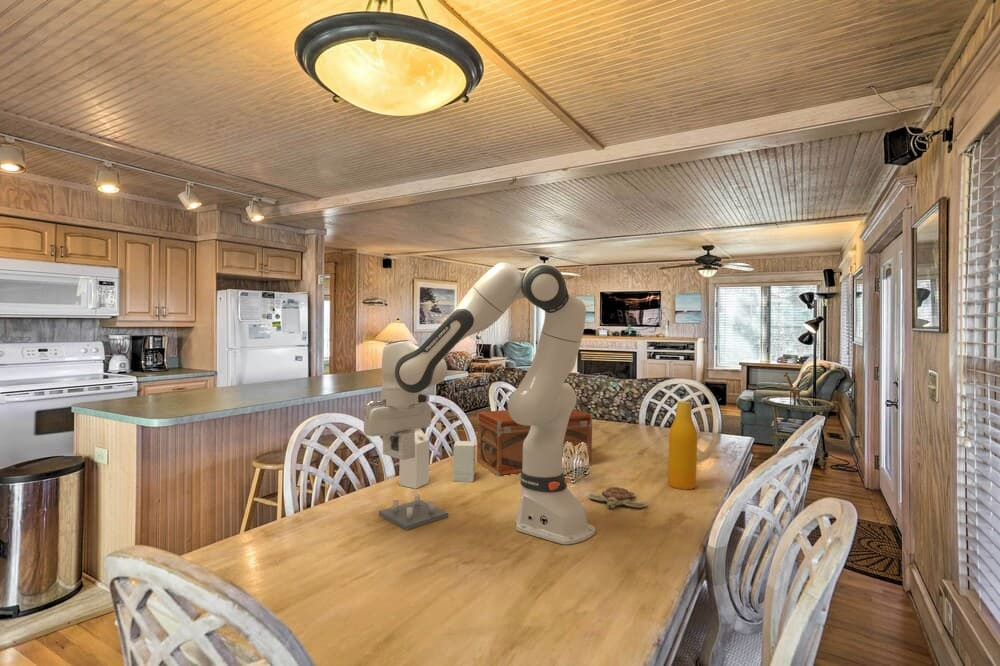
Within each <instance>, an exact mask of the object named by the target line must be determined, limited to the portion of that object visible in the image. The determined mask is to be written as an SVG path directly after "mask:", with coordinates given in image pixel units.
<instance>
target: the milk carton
mask: <svg viewBox="0 0 1000 666" xmlns="http://www.w3.org/2000/svg"><path fill="white" fill-rule="evenodd" d="M414 432H415V458H410V459H406V460H401V459H399V469H398V471H399V476H398V479H399V481H398V483H399V486H402V487H405V488H410V489H411V488H412V489H418V488H420V487H423V486H426V485H427V484H429V483H430V480H429V478H430V477H429V475H430V472H429V471H430V439H429V437H428V436H427V435H426V433H424V431H423V430H422V428H419V429H414Z"/></svg>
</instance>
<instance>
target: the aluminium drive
mask: <svg viewBox="0 0 1000 666" xmlns="http://www.w3.org/2000/svg"><path fill="white" fill-rule="evenodd" d="M389 439H390V440H391V442H393V443H394V449H391V450H388V449H387V448H386V442H385V440H384V439H383V438H382V454H383V455H385V456H388V457H392V458H395V459H398V460H400V459H401V460H406V459H410V458H415V432H412V431H408V430H407V431H402V432H396V433H391V437H389Z"/></svg>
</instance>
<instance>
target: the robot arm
mask: <svg viewBox="0 0 1000 666" xmlns="http://www.w3.org/2000/svg"><path fill="white" fill-rule="evenodd" d="M520 299H527V300H528V301H529V302H530V303H531V304H533V305H534V306H535V307H538V308H540V309H541V310H542V311H544V321H543V324H542V328H541V331H540V336H539V340H538V343H537V347H536V351H535V354H534V357H533V360H532V362H531V364H530V366H529V368H528V370H527V372H526V374H525V375H524V377H523V379H522V381H521V382H520V384H519V385H518V387H517V388H516V389H515V390H514V391H513V392H512V393H511V395H510V396H509V398H508V401H507V410H508V411H509V414H510V416H511V418H512V419H513V420H514V421H515V422H516V423H518V424H520V425H526V426H531V428H530V431H529V433H528V435H527V437H526V438H525V440H524V443H523V462H522V470H521V474H520V476H519V479H520V485H521V489H520V498H519V504H518V509H517V513H516V516H515V520H514V521H515V524H516V526H515V530H516V531H517V532H519V533H523V534H526V535H529V536H532V537H533V536H534V537H537V538H539V539H544V540H547V541H551V542H553V543H556V544H561V545H572V544H577V543H580V542H583V541H585V540H587V539H590V538H591V537H592V536H594V535H595V534H596V526H594V525H592V524H591V523H588V521H587V520H588V518H587V512H586V508H585V506H584V505H583V504H582V503H581V502H580V501H579V499H578V498H576V497H575V495H574V494H573V493H572V492H571V491H570V489H568V483H571V481H570V479H571V477H569V478H568V477H567V478H566V476H565V474H564V472H563V469H562V456H563V443H564V437H565V433H566V429H567V425H568V421H569V418H570V415H571V412H572V411H573V409H574V410H575V407H576V405H577V394H576V392H575V390H574V388H573V387H572V386H571V385H570V384H568V383H566V379H567V378H568V376H569V375H570V373H572V372H573V370H574V368H575V365H576V361H577V358H578V354H579V350H580V348H581V343H582V340H583V336H584V332H585V331H584V330H585V325H586V316H587V315H586V314H587V308H586V304H584V302H583V301H582V300H581V299H580V298H578V297H576V296H573V295H569V292H568V289H567V284H566V280H565V278H564V276H563V274H562V272H561V271H560V269H558V268H557V267H556V266H554V265H553V264H550V263H545V262H541V263H536V264H533V265H531V266H528V267H525V268H522V269H519V268H517V267H516V266H515V265H514V264H511V263H509V262H499V263H497V264H495V265H494V266H492V267H491V268H490V269H489V270H488V271H486V273H484V274H483V275H482V276H481V277H480V278H479V279H478V280H477V281H476V282H475V283H474V285H472V287H471V288H470V289H469V290H468V292H467V293H466V294H465V295H464V296H463V298H462V300H460V301H459V303H458V304H457V306H456V307H455V308H454V310H453V311H452V312H451V313H450V315H448V317H447V319H445V320H444V321H443V323H441V324H440V325H439V326H438V327H437V329H435V330H434V332H432V334H431V335H429V337H428V338H427V339H426V340H424V342H423V343H422V345H421V346H418V345H416V344H414V343H413V342H412V341H411V340H408V339H402V340H395V341H391V342H388V343H387V344H385V345H384V347H383V351H382V355H381V356H382V357H381V374H382V381H383V383H382V386H381V399H380V400H372V401H370V402H368V403H367V404H366V405H365V407H364V420H363V422H364V423H363V433H364V434H365V435H366V436H368V437H377V436H382V440H383V439H384V440H385V442H386V448H387V449H388V450H391V449H394V443H393V442H391V440H390V439H389V437H391V433H396V432H402V431H407V430H408V431H412V432H414V429H419V428H421V429H425V428H429V427H430V425H431V423H432V410H431V405H430V404H429V402H430V396H429V394H425V393H421V392H422V391H424V390H426V389H429V388H431V387H434V386H436V385H438V384H440V383H441V382H443V381H444V380H445V378H446V377H447V374H448V363H447V362H446V359H445V357H446V356H448V354H449V353H450V352H451V351H452V350H453V349H454V347H456V345H458V343H460V342H461V341H463V340H464V339H466V338H467V337H469V336H472V335H475V334H477V333H480V332H482V331H485V330H487V329H488V328H489V327H491V326H492V325H493V324H495V323H496V322H497V321H498V320H499V319H500V318H501V317H502V316H503V315H504V314H505V313H506V312H507V310H508V309H509V308H510V307H511V306H512V305H513V304H514V303H515V302H516V301H518V300H520Z"/></svg>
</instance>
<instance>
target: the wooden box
mask: <svg viewBox="0 0 1000 666" xmlns="http://www.w3.org/2000/svg"><path fill="white" fill-rule="evenodd" d="M530 428H531V426H526V425H520V424H518V423H516V422H515V421H514V420H513V419H512V418H511V416H510V414H509V411H508V409H507V410H506V409H505V410H504V409H503V410H491V411H490V410H489V411H488V410H487V411H478V412H477V442H476V443H477V446H476V447H477V448H476V463H478V464H479V465H480V464H481V465H480V466H482V467H483V468H484V469H486V470H487V469H488V470H487V471H489V472H490V471H491V473H492V474H493V473H494V474H493V475H495V476H496V475H497V476H500V477H505V476H504V475H508V476H512V475H511V474H516V475H520V474H519V473H521V470H522V462H523V443H524V440H525V438H526V437H527V435H528V433H529V431H530ZM567 441H568V442H572V443H573V445H574V446H576V445H578V444H579V443H581V442H584V443H586V444H587V446H588V450H589V465H590V466H589V467H591V466H592V449H593V448H592V446H593V444H592V443H593V414H590V413H587V412H584V411H581V410H578V409H575V408H574V409H573V411H572V412H571V415H570V418H569V421H568V425H567V429H566V433H565V437H564V443H565V442H567ZM564 443H563V444H564ZM497 476H496V477H497Z"/></svg>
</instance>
